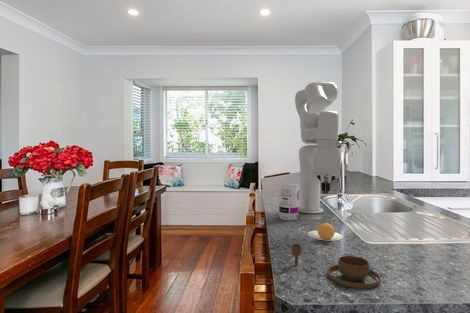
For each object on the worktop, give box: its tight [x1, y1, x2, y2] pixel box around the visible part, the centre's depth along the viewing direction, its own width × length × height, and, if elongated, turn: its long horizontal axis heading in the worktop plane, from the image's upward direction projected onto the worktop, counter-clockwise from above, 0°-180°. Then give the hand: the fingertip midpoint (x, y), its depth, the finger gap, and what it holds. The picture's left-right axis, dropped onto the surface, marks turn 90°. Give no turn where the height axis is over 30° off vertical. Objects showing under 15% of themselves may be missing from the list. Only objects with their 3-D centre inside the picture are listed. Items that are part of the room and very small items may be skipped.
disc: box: [307, 230, 344, 242], centre depth 112 cm, size 12×12×1 cm
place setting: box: [291, 243, 381, 289], centre depth 80 cm, size 18×20×6 cm
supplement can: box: [278, 182, 300, 222], centre depth 137 cm, size 8×8×15 cm
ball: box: [317, 222, 335, 241], centre depth 108 cm, size 6×6×6 cm
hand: (325, 192), depth 121 cm, fingers closed
